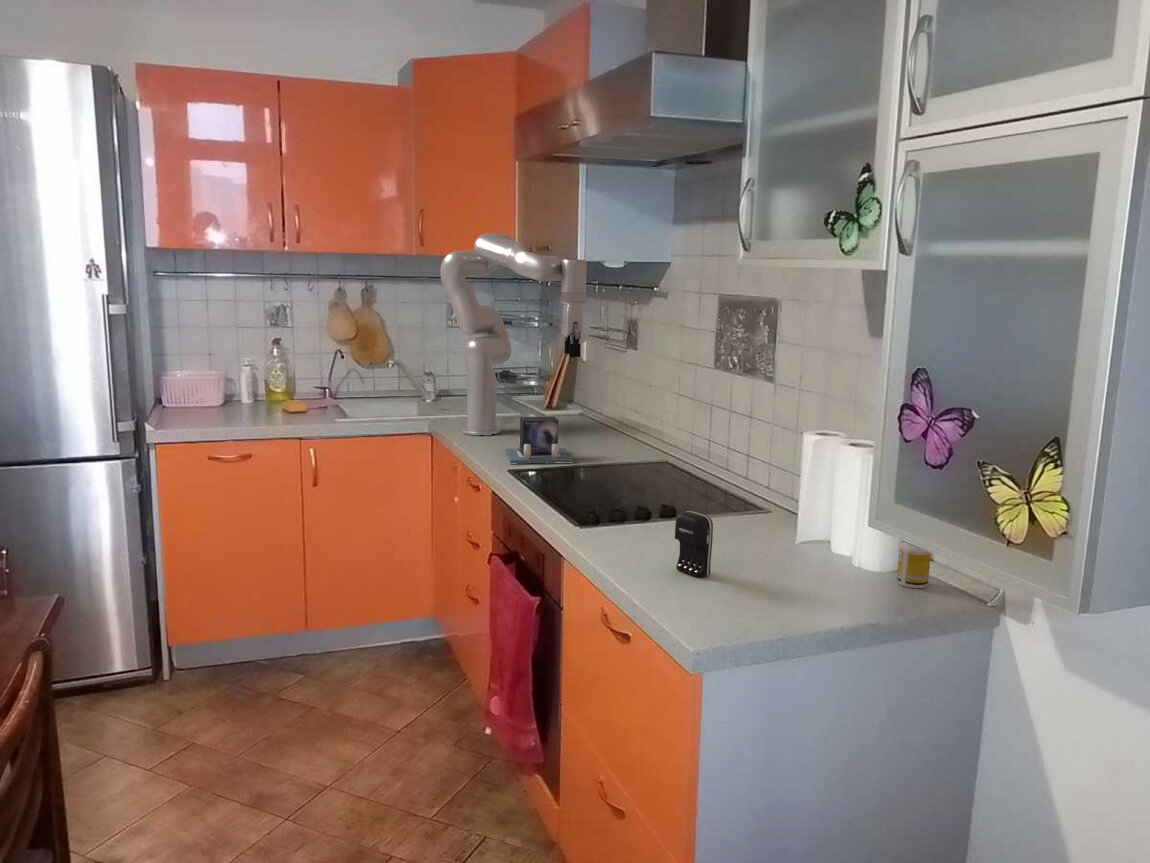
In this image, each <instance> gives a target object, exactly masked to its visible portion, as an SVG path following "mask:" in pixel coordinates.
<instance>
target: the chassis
mask: <svg viewBox="0 0 1150 863" xmlns="http://www.w3.org/2000/svg"><path fill="white" fill-rule="evenodd" d="M518 439H519V448H520V435H519V438H518ZM519 448H504V450H505V452H506V453H505V455H506V454H507V455H506V457H507V456H508V458H509V460H508V462H509V461H510V463H529V462H530V463H546V462H547V463H555V462H573V463H574V458H573V457H572V455H571V454H570V453H569V451H568V450H567V448H566V447H560V445H559V443H558V444H552V455H534V456H531V444H524V456H523V455H522V454H521V453H520V451H519ZM508 458H507V459H508ZM510 463H509V464H510Z"/></svg>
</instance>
